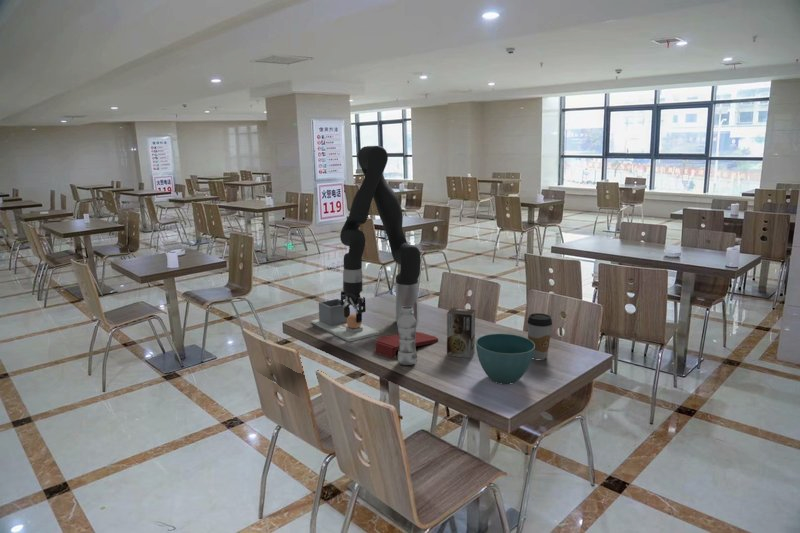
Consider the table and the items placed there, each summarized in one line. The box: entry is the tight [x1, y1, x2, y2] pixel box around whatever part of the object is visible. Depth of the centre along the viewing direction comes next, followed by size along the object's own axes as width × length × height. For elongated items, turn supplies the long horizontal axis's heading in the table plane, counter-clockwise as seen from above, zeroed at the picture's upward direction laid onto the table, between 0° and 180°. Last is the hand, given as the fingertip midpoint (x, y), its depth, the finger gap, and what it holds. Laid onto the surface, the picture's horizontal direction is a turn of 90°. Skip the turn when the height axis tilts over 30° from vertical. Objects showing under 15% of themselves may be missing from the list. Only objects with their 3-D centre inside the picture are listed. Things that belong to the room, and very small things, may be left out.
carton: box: [374, 331, 439, 359], centre depth 206 cm, size 12×5×25 cm
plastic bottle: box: [396, 306, 418, 366], centre depth 187 cm, size 6×7×20 cm
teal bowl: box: [475, 333, 535, 385], centre depth 175 cm, size 18×18×12 cm
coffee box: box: [446, 307, 476, 359], centre depth 196 cm, size 9×6×16 cm
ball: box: [347, 313, 363, 329], centre depth 218 cm, size 6×6×6 cm
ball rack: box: [311, 298, 380, 342], centre depth 224 cm, size 29×14×9 cm, turn 38°
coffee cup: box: [527, 312, 553, 360], centre depth 193 cm, size 8×8×15 cm
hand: (352, 319), depth 218 cm, fingers open, 8 cm apart
